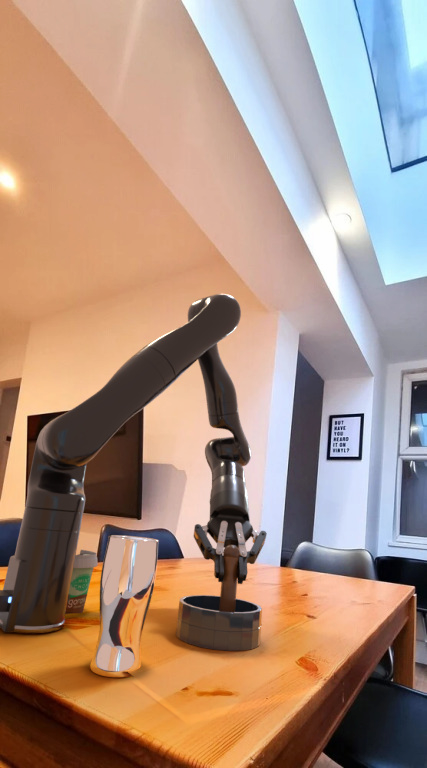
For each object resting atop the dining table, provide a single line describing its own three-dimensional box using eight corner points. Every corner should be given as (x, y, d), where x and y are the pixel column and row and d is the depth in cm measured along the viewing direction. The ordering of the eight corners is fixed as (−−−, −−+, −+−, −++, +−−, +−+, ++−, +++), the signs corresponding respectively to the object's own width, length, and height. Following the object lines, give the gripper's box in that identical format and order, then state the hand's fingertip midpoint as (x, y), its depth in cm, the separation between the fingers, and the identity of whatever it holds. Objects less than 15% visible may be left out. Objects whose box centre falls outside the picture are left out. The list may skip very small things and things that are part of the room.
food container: (66, 623, 68) (78, 557, 71) (33, 617, 70) (46, 553, 73) (101, 609, 80) (110, 553, 83) (72, 605, 81) (82, 549, 84)
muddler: (223, 639, 65) (230, 545, 69) (207, 632, 68) (215, 542, 72) (242, 637, 67) (248, 546, 71) (226, 630, 70) (233, 543, 75)
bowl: (210, 660, 58) (213, 615, 59) (159, 633, 68) (164, 596, 70) (277, 650, 65) (278, 610, 67) (222, 627, 75) (225, 594, 77)
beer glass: (93, 681, 47) (115, 538, 51) (80, 660, 53) (101, 533, 57) (152, 676, 50) (168, 541, 54) (133, 657, 56) (149, 537, 60)
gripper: (195, 485, 82) (190, 559, 66) (267, 492, 82) (278, 568, 67) (192, 513, 85) (185, 591, 70) (260, 520, 86) (269, 598, 70)
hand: (231, 579), depth 68 cm, fingers closed on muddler, 2 cm apart
